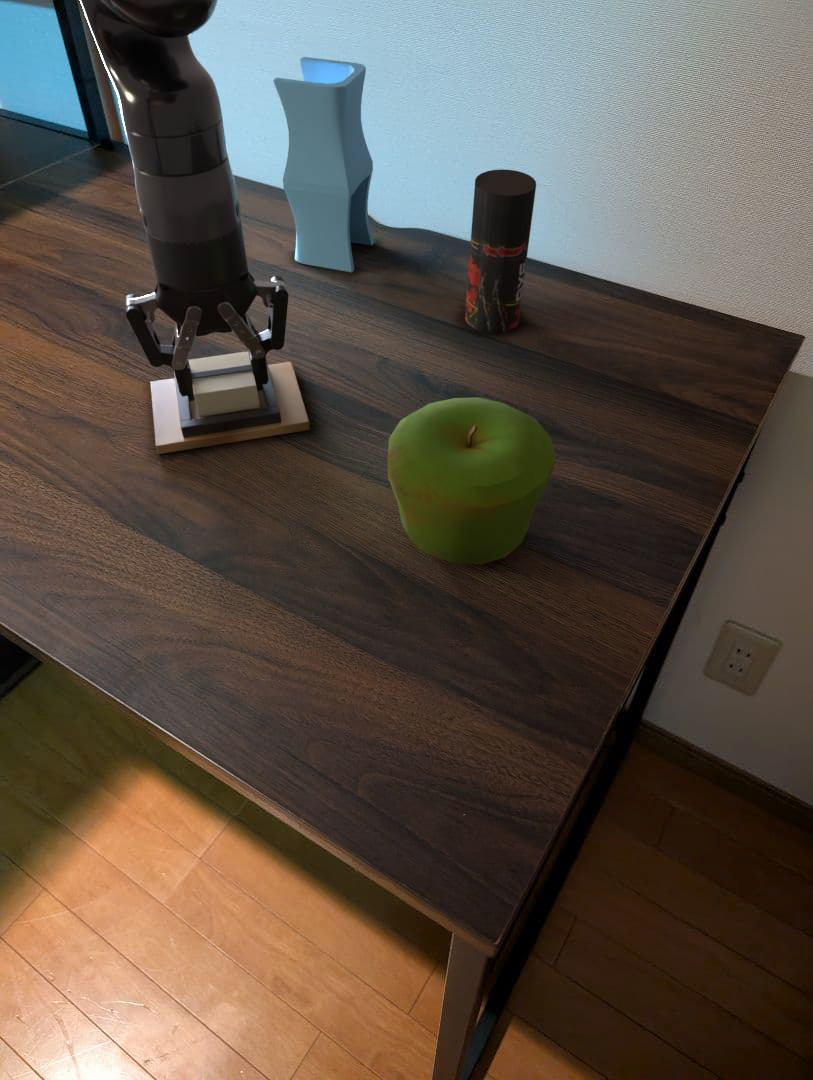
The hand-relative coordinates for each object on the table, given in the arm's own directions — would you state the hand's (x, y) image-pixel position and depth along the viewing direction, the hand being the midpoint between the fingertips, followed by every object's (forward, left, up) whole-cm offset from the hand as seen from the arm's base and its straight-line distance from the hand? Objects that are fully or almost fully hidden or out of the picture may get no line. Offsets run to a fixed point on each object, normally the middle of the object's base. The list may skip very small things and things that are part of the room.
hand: (225, 390), depth 75 cm
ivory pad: (0, 0, -1) cm, 1 cm away
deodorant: (+30, +9, -2) cm, 31 cm away
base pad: (0, 0, -2) cm, 2 cm away
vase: (+16, +28, -2) cm, 32 cm away
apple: (+17, -21, -2) cm, 27 cm away
